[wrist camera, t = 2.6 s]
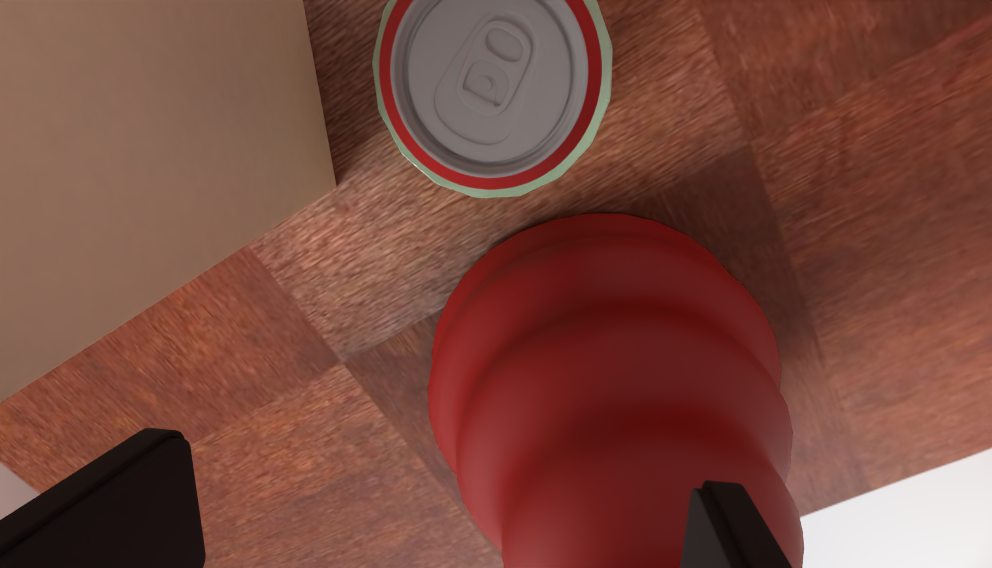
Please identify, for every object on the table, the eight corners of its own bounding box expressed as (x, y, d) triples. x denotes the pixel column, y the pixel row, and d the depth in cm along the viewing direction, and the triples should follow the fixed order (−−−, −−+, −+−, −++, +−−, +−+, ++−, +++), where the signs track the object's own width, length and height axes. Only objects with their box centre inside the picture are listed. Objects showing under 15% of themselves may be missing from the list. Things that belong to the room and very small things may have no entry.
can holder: (387, -24, 23) (355, -55, 18) (591, -37, 22) (617, -72, 17) (411, 179, 26) (390, 203, 21) (586, 170, 26) (607, 192, 21)
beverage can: (405, 111, 24) (328, 135, 13) (462, -27, 22) (424, -135, 11) (521, 172, 26) (538, 240, 15) (587, 47, 23) (666, 15, 12)
